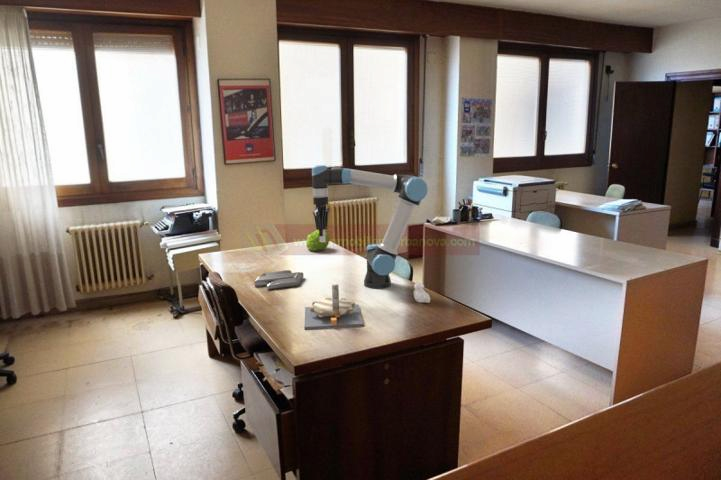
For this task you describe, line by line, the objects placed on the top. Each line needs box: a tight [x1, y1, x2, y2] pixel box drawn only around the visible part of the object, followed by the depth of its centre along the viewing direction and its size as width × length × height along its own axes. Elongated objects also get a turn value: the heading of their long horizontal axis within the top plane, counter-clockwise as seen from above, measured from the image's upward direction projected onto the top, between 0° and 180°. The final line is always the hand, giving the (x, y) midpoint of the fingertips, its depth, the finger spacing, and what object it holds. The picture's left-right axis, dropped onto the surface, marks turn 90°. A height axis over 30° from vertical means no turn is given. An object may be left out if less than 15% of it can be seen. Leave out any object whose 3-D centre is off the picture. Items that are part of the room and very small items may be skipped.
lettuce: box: [305, 229, 330, 252], centre depth 362 cm, size 15×25×16 cm
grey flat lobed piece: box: [254, 269, 304, 290], centre depth 286 cm, size 28×5×28 cm
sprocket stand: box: [303, 304, 364, 330], centre depth 232 cm, size 26×25×4 cm
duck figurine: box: [412, 281, 431, 304], centre depth 250 cm, size 12×8×11 cm
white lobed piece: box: [309, 283, 356, 317], centre depth 231 cm, size 21×21×14 cm
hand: (322, 241), depth 256 cm, fingers closed
